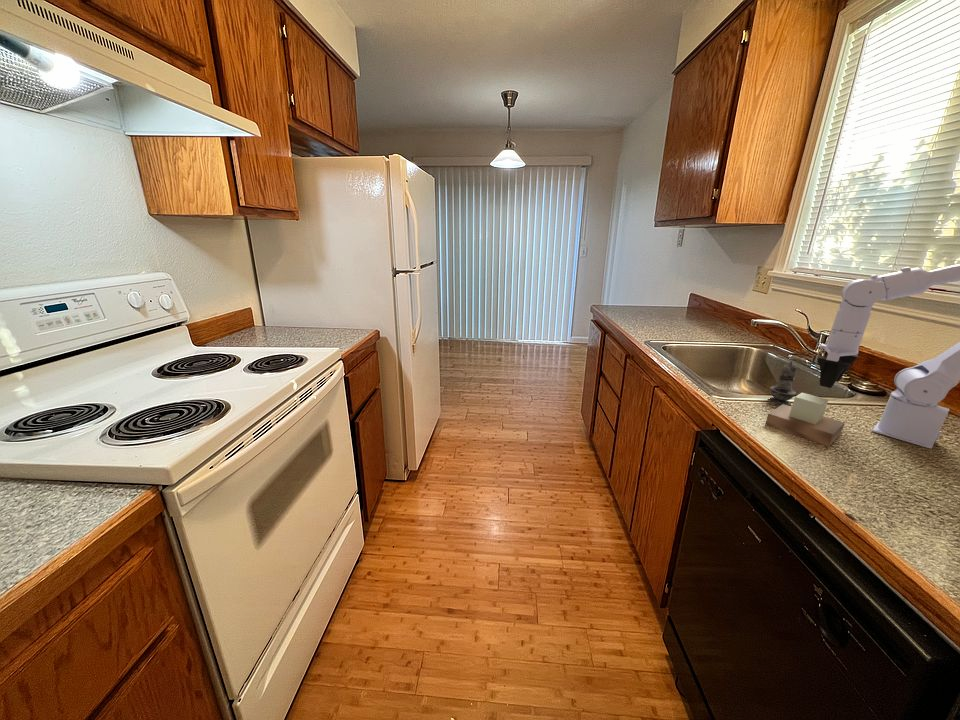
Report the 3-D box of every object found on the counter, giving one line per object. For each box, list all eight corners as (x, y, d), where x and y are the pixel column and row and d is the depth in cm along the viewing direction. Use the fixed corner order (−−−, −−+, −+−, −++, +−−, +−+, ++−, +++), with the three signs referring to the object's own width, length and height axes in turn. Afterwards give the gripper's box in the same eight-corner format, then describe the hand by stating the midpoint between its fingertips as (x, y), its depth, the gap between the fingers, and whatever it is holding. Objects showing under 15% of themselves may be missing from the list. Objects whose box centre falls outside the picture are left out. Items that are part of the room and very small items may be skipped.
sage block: (821, 419, 89) (828, 399, 88) (815, 424, 86) (822, 404, 85) (795, 411, 93) (801, 392, 91) (789, 416, 90) (795, 396, 89)
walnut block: (840, 434, 89) (844, 422, 88) (828, 446, 83) (833, 434, 82) (779, 414, 98) (782, 404, 97) (765, 424, 92) (768, 413, 91)
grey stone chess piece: (783, 398, 108) (795, 358, 105) (797, 407, 103) (811, 365, 99) (761, 397, 109) (773, 357, 105) (774, 405, 103) (787, 364, 100)
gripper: (833, 324, 98) (817, 373, 102) (818, 330, 89) (801, 384, 94) (870, 329, 93) (852, 381, 97) (858, 337, 84) (838, 393, 88)
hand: (829, 383), depth 95 cm, fingers open, 7 cm apart
